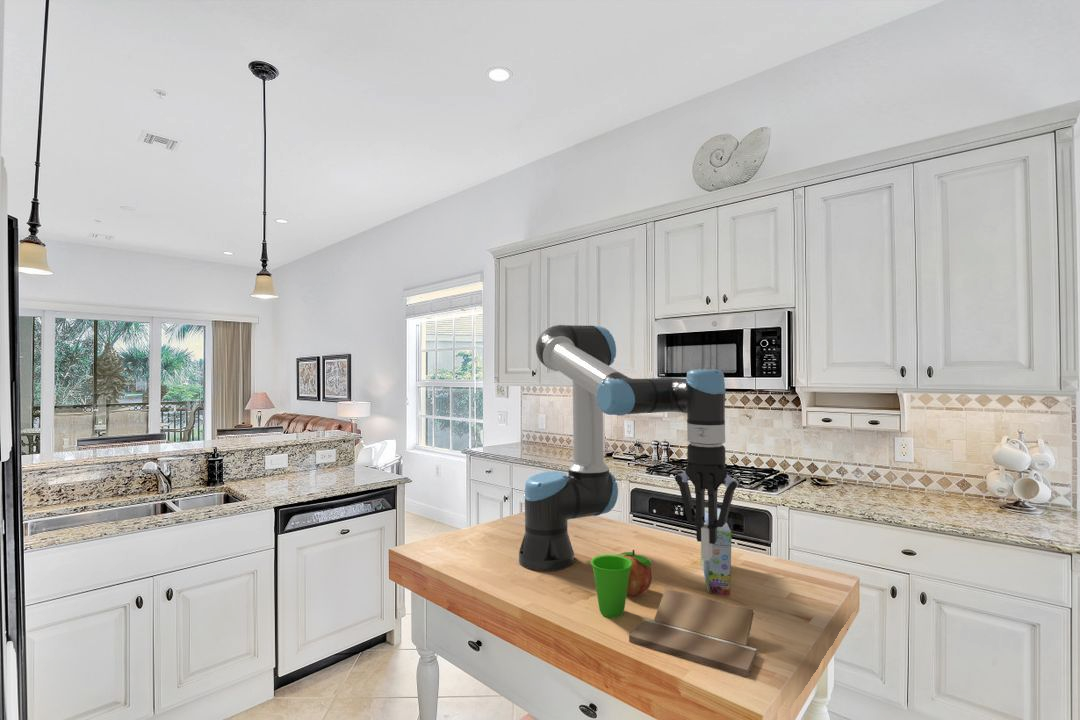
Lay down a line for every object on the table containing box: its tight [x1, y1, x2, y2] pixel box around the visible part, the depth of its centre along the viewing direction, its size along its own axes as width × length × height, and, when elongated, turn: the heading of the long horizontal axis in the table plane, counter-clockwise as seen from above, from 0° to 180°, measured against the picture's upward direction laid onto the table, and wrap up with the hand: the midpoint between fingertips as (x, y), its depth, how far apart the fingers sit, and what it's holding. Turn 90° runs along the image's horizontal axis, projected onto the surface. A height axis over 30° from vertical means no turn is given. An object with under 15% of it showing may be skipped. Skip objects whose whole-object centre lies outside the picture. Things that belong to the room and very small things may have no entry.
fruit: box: [620, 549, 653, 596], centre depth 126 cm, size 9×10×10 cm
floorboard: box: [628, 618, 758, 678], centre depth 102 cm, size 22×8×1 cm, turn 57°
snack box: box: [700, 507, 732, 596], centre depth 135 cm, size 21×6×15 cm, turn 168°
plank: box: [653, 588, 754, 646], centre depth 108 cm, size 18×8×1 cm, turn 57°
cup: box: [590, 554, 633, 619], centre depth 116 cm, size 9×9×11 cm
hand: (706, 557), depth 111 cm, fingers closed
